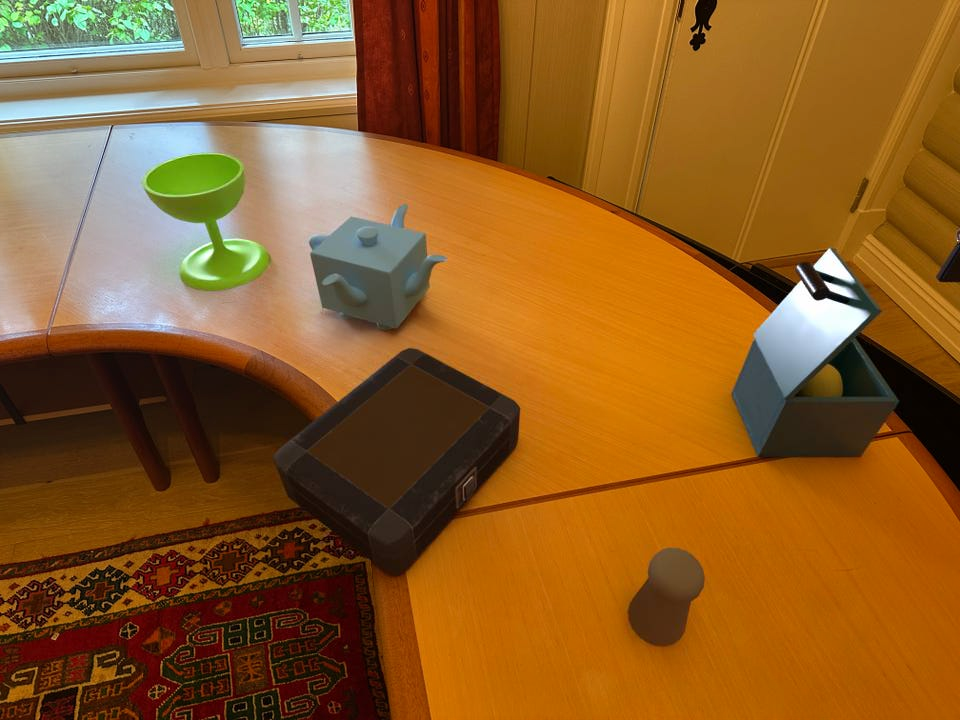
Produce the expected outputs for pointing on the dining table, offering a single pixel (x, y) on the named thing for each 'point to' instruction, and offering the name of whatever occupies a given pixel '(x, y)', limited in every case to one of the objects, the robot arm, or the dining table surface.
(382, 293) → the teakettle
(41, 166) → the dining table surface
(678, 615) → the cork
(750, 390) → the teal box
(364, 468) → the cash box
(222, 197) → the wineglass
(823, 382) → the lemon
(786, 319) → the box lid
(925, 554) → the dining table surface
